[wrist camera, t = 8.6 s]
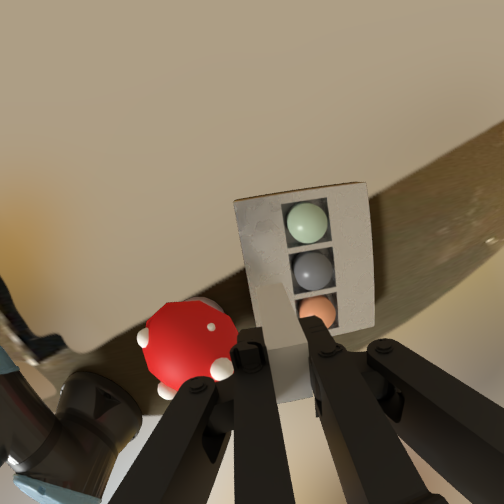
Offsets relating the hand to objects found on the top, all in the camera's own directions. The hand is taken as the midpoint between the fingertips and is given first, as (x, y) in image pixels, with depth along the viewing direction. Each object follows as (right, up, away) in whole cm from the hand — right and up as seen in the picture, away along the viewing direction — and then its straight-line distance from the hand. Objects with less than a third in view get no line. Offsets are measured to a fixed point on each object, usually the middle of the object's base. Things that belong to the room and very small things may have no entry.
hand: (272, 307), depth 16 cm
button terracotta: (+6, -3, +17) cm, 19 cm away
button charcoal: (+5, +2, +16) cm, 17 cm away
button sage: (+4, +6, +15) cm, 17 cm away
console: (+5, +2, +18) cm, 19 cm away
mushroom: (-8, -5, +19) cm, 22 cm away
